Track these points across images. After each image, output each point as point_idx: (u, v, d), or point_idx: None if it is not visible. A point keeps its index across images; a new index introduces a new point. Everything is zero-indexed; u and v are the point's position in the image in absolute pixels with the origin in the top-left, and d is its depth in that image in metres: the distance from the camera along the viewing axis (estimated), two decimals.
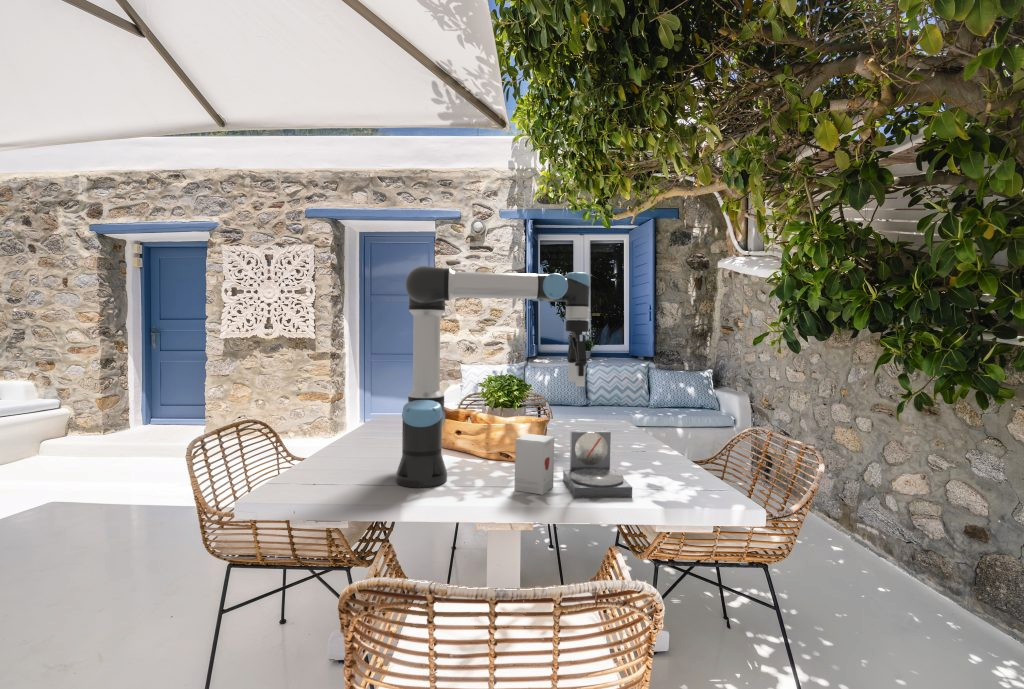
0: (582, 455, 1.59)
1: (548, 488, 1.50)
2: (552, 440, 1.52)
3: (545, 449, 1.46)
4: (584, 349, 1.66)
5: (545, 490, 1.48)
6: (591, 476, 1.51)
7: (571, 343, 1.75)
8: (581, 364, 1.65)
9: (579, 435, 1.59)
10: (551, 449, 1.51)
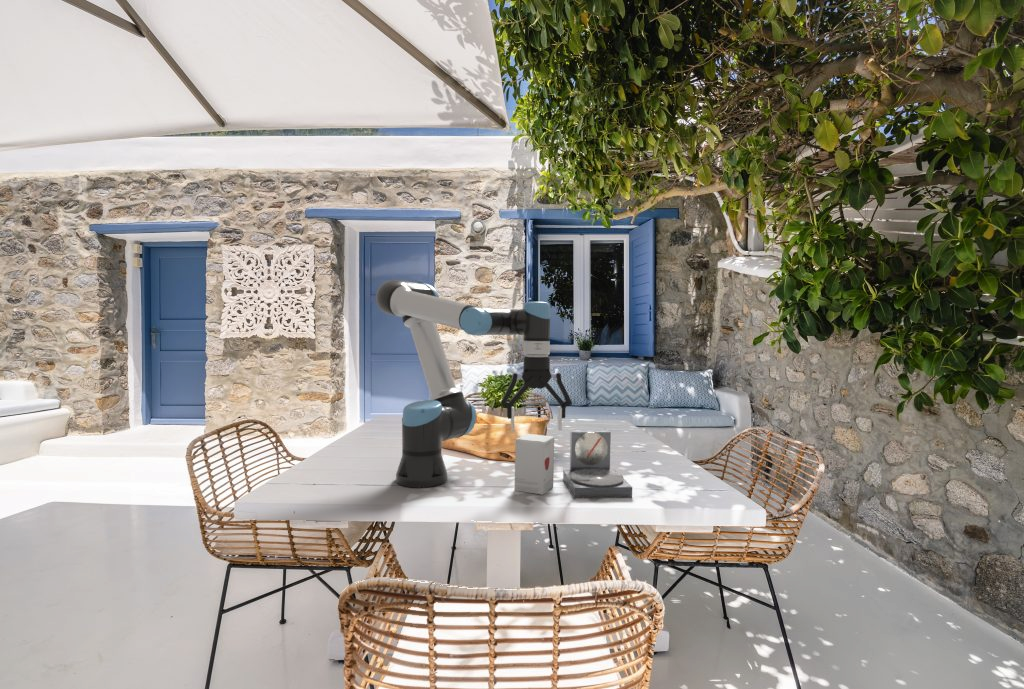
0: (582, 455, 1.59)
1: (548, 488, 1.50)
2: (552, 440, 1.52)
3: (545, 449, 1.46)
4: (508, 389, 1.49)
5: (545, 490, 1.48)
6: (591, 476, 1.51)
7: None
8: None
9: (579, 435, 1.59)
10: (551, 449, 1.51)
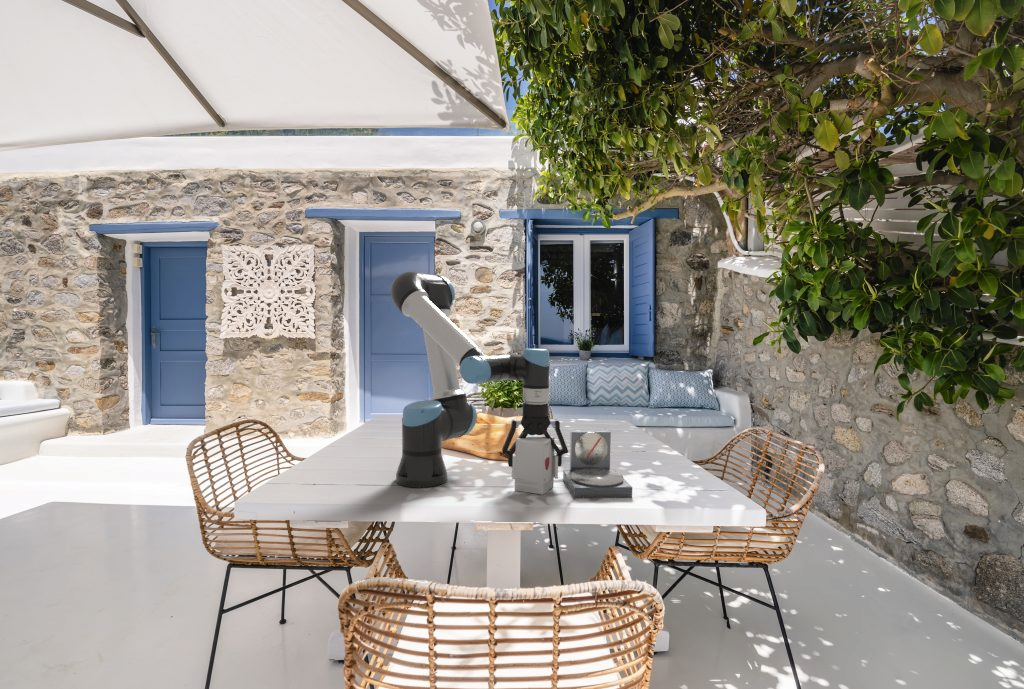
0: (582, 455, 1.59)
1: (548, 488, 1.50)
2: None
3: (545, 449, 1.46)
4: (508, 437, 1.50)
5: (545, 490, 1.48)
6: (591, 476, 1.51)
7: None
8: None
9: (579, 435, 1.59)
10: (551, 449, 1.51)
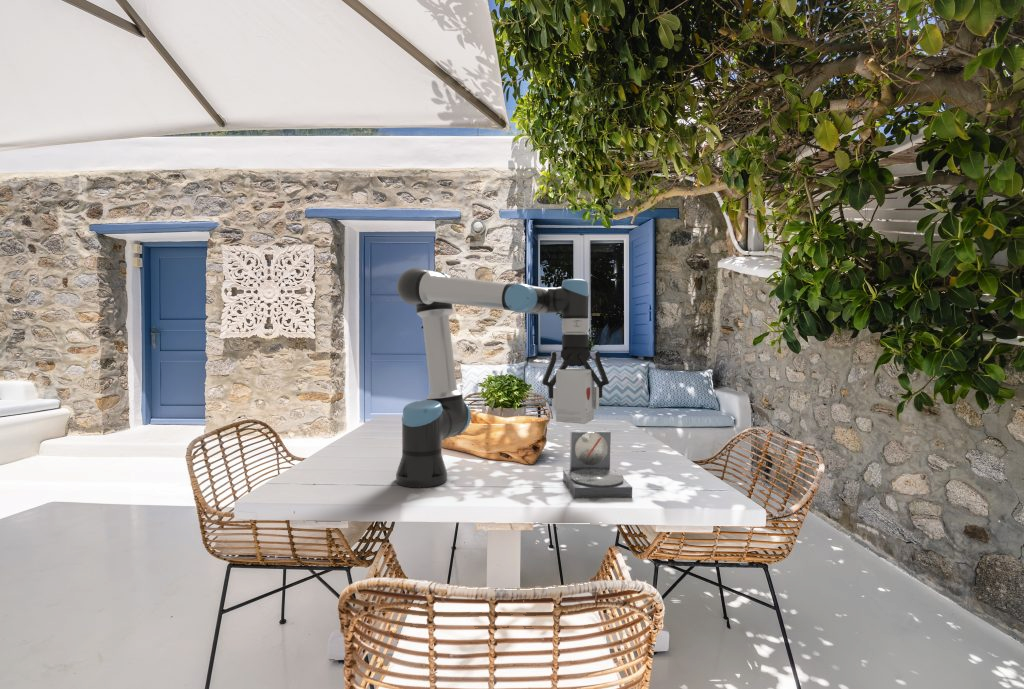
0: (582, 455, 1.59)
1: (590, 419, 1.49)
2: None
3: (586, 378, 1.46)
4: (548, 368, 1.49)
5: (587, 420, 1.47)
6: (591, 476, 1.51)
7: None
8: (545, 384, 1.50)
9: (579, 435, 1.59)
10: (591, 380, 1.50)
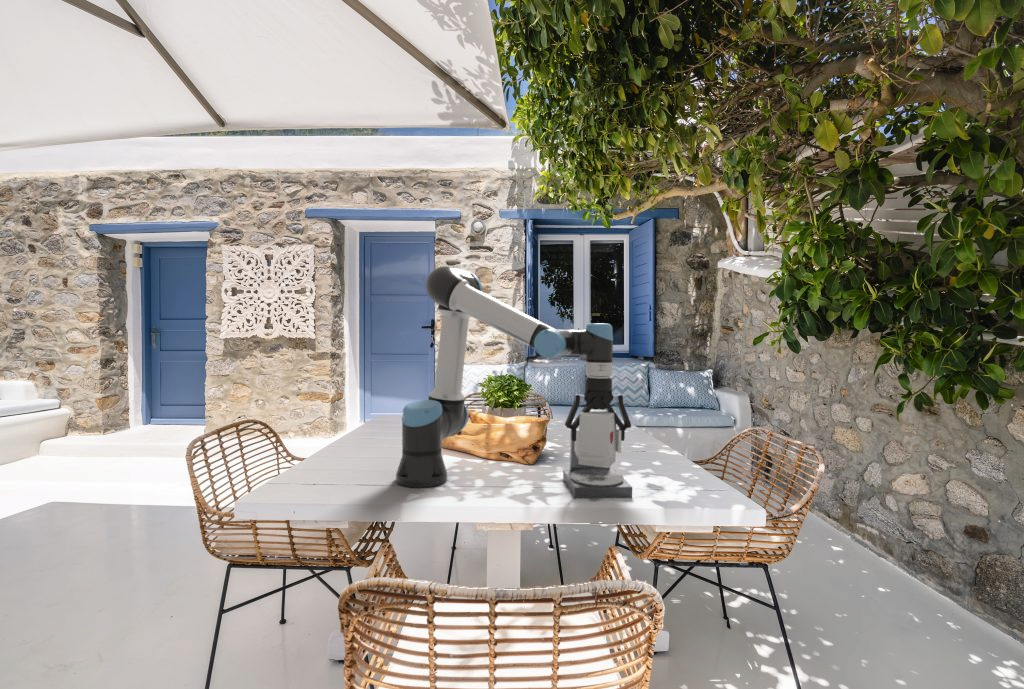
0: None
1: (612, 462, 1.50)
2: None
3: (610, 422, 1.46)
4: (571, 411, 1.50)
5: (610, 464, 1.48)
6: (591, 476, 1.51)
7: None
8: None
9: None
10: (614, 423, 1.51)
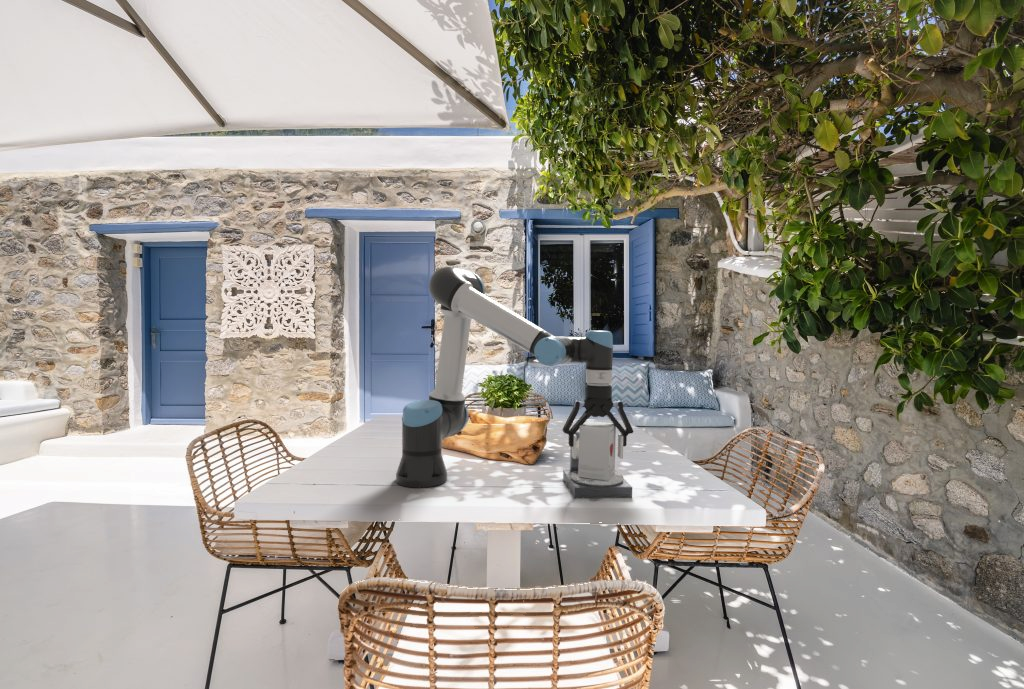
0: None
1: (611, 474, 1.50)
2: (614, 427, 1.52)
3: (610, 435, 1.47)
4: (570, 417, 1.50)
5: (610, 476, 1.48)
6: None
7: None
8: (565, 432, 1.51)
9: None
10: (613, 436, 1.51)
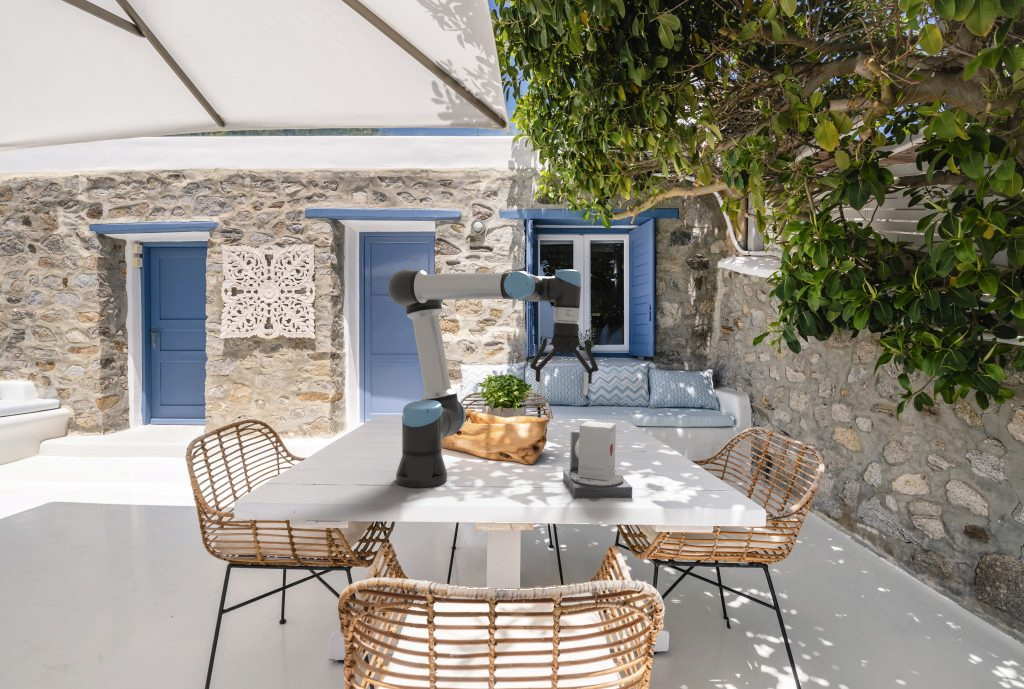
0: None
1: (611, 474, 1.50)
2: (614, 427, 1.52)
3: (610, 435, 1.47)
4: (537, 353, 1.55)
5: (610, 476, 1.48)
6: None
7: None
8: None
9: None
10: (614, 436, 1.51)
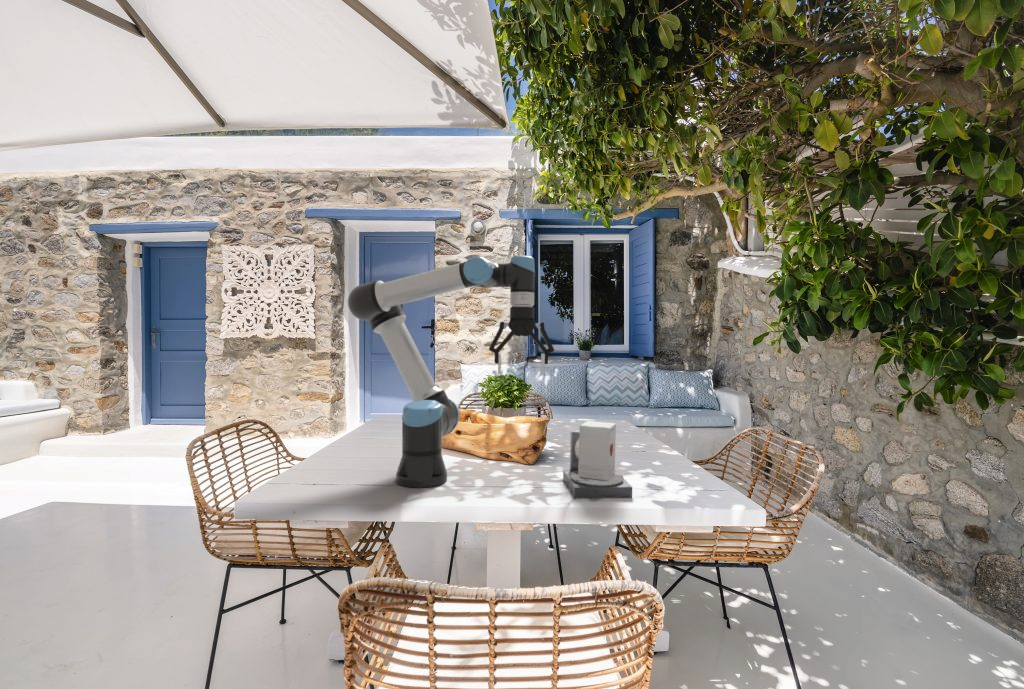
0: None
1: (611, 474, 1.50)
2: (614, 427, 1.52)
3: (610, 435, 1.47)
4: (495, 336, 1.62)
5: (610, 476, 1.48)
6: None
7: None
8: None
9: None
10: (614, 436, 1.51)
